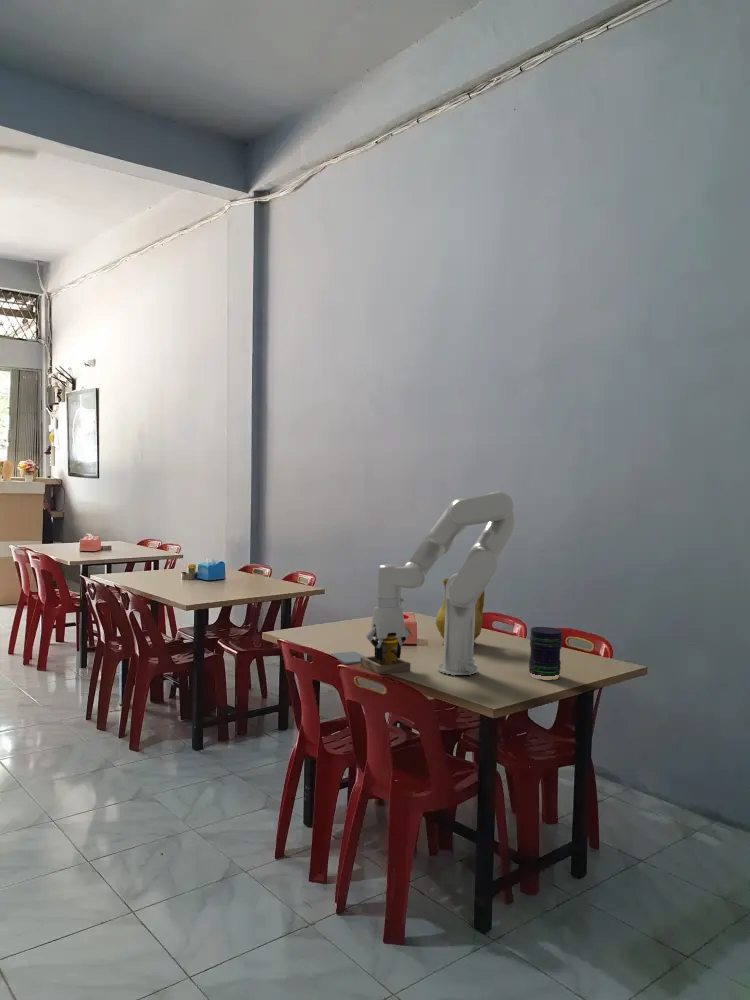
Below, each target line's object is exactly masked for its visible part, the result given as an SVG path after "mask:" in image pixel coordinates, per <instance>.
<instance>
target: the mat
mask: <svg viewBox="0 0 750 1000" xmlns="http://www.w3.org/2000/svg"><path fill="white" fill-rule="evenodd" d="M330 654H331V655H333V656H334V657H336V658H337V659H338V660H337V661H338V662H340V663H342V664H344V665H353V664H361V657H366V656H365V655H363V654H360V653H359V652H356V651H343V652H334V653H333V652H331V653H330Z"/></svg>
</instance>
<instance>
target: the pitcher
mask: <svg viewBox="0 0 750 1000" xmlns="http://www.w3.org/2000/svg"><path fill="white" fill-rule="evenodd" d="M451 576H452V575H451ZM451 576H449V577H448V578H445V579H442V582H443V587H444V597H443V598H444V599H443V603H442V604H441V606H440V608H439V610H438V612H437V614H436V618H435V625H436V627H437V630H438V632H439V634H440V637H441V638H442V639H443V640H444V631H445V608H446V584H447V581H448V580H449V578H450V577H451ZM485 596H486V595H485V590H484V591H483V592H482V594H481V595H480V597H479V598H478V599H477V601H476V602H475V627H474V645H476V642H475V641H476V639H477V638H478V637H480V634H481V632H482V627H483V618H484V613H483V611H484V605H485V604H484V603H485Z"/></svg>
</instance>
